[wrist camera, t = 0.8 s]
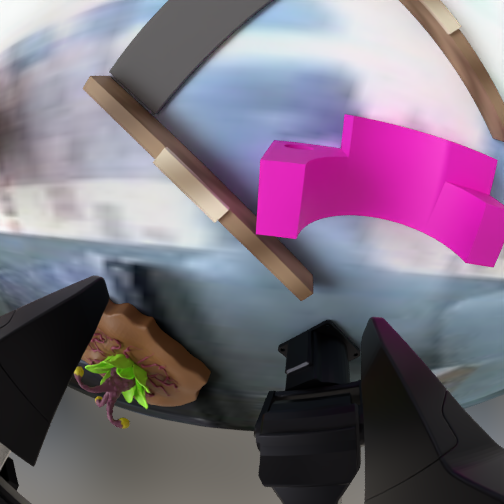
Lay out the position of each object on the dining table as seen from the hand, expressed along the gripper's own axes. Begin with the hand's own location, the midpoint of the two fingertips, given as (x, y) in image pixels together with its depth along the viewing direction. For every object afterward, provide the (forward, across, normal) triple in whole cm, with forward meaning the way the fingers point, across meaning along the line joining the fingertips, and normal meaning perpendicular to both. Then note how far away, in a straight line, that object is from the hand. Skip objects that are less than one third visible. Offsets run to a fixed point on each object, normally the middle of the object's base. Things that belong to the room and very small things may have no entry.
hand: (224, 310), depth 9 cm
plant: (+14, +17, +24) cm, 33 cm away
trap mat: (+13, +4, -15) cm, 20 cm away
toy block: (+14, -8, -3) cm, 16 cm away
